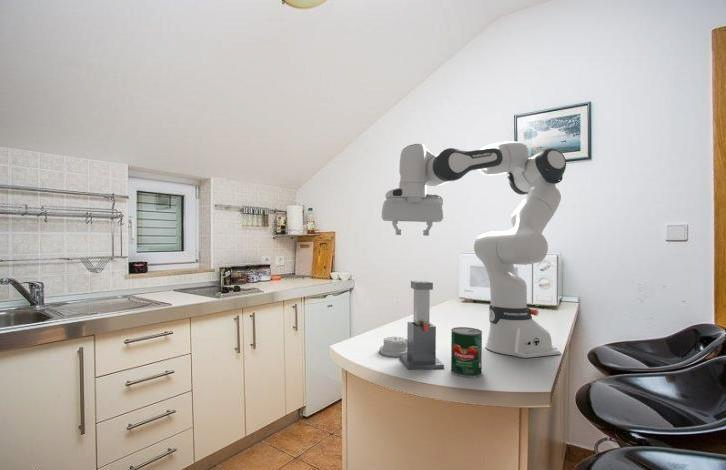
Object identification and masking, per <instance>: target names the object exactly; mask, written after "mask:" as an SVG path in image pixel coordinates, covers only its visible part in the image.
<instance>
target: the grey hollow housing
mask: <svg viewBox="0 0 726 470" xmlns="http://www.w3.org/2000/svg"><path fill="white" fill-rule="evenodd" d="M436 329H437V327H436V325H435V324H432V323H431V322H430V321H429V326H428V323H422V326H415V325H414V324H413V321H407V331H406V332H407V336H406V337H407V338H406V339H407V355H400V357H399V359H400V361H401V362H402V363H403V365H404V366H405V367H406V368H407V370H409V371H411V370H413V371H415V370H438V369H439V370H442V369H445V364H444V363H443V362H442V361H441V360H440V359H438V358H437V357H436V356H437V354H436V353H437V351H436V349H437V345H436V344H437V343H436V342H437V337H436V336H437V333H436V332H437V330H436Z"/></svg>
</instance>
